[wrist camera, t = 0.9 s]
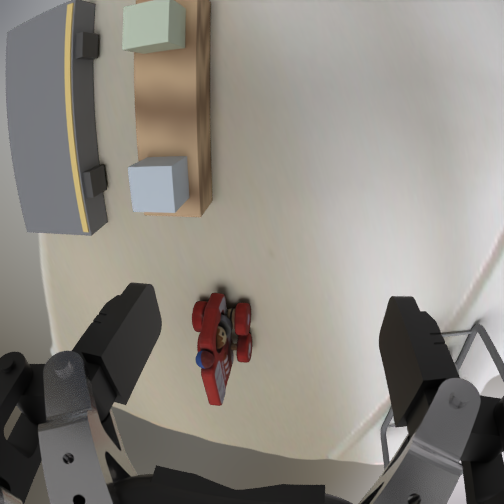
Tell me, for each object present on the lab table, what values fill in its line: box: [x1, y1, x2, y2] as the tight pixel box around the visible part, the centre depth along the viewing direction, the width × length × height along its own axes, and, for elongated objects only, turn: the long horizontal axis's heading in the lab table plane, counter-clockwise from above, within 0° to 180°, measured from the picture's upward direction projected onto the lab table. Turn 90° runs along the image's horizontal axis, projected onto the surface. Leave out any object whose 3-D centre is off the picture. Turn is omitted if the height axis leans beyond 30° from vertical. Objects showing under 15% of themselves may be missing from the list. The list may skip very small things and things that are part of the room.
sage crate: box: [122, 0, 186, 54], centre depth 20 cm, size 4×4×4 cm
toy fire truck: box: [192, 293, 252, 406], centre depth 37 cm, size 7×12×10 cm, turn 3°
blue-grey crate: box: [128, 156, 189, 213], centre depth 26 cm, size 4×4×4 cm
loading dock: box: [6, 0, 108, 236], centre depth 29 cm, size 28×13×4 cm, turn 0°
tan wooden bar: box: [134, 0, 212, 217], centre depth 27 cm, size 22×6×5 cm, turn 0°
